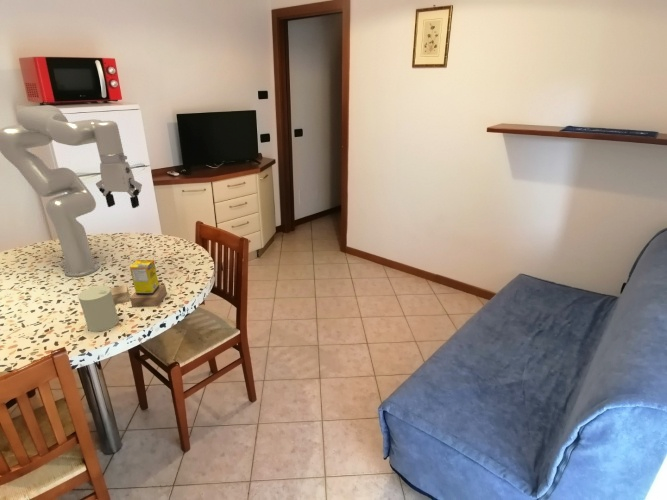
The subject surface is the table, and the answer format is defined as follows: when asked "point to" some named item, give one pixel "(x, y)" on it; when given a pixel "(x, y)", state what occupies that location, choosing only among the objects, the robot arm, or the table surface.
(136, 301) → the base brick
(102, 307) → the can
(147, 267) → the supplement box
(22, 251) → the table surface
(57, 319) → the table surface
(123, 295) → the oak brick
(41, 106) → the robot arm
